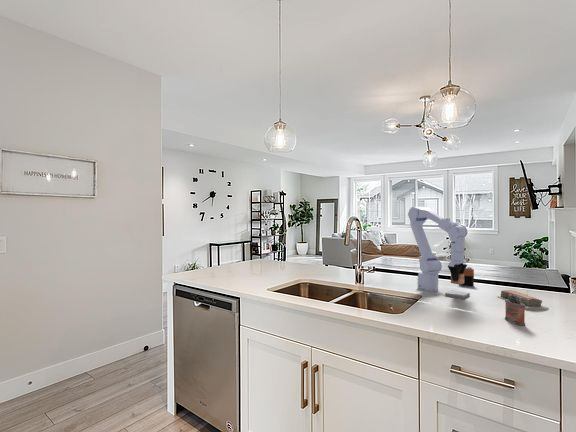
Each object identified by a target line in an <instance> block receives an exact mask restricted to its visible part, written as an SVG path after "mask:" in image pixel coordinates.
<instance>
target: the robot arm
mask: <svg viewBox="0 0 576 432" xmlns="http://www.w3.org/2000/svg"><path fill="white" fill-rule="evenodd" d="M407 217H408V218H409V221H410V228H411V231H412V235H413V236H414V240H415V242H416V245H417V247H418V251H419V253H420V257H419V259H418V262H419V270H420V272H418V273H417V289H421V290H425V291H431V292H432V291H438V290H439V273H440V271H441V270H442V268H443V264H442V262H441V261H440V260H439V258H438V256H437V255H436V254H434V253H433V251H432V249H431V247H430V243H429V240H428V238H427V236H426V233H425V230H424V227H423V225H424V224H425V222H427V220H428V219H429V220H430V221H432V222H434V223H436V224H437V226H438V227H439V229H441V230H443V231H444V232H446V233H447V234H448V236H449V241H450V259H449V262H448V265H447V268H448V271H449V272H450V277H451V276H452V280H453V281H458V279H459V273H461V274H464V271H465V269H466V268H467V267H468V264H467V263H468V261H467V260H466V259H465V243H466V242H465V237H467V235H468V229H467V227H466V226H465V225H461V224H460V225H459V224H458V223H457V222H454V221H452V220H451V218H450V217H441V216H440V215H439V214H437V213H436V212H434V211H433V210H432V209H431V208H429V207H427V206H411V207H410V208H409V210H408V213H407Z"/></svg>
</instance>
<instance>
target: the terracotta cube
mask: <svg viewBox="0 0 576 432" xmlns="http://www.w3.org/2000/svg"><path fill="white" fill-rule="evenodd" d="M450 284H454V285H458V286H462V285H461V284H464V274H461V273H459V279H458V281H453V280H452V276H451V275H450Z"/></svg>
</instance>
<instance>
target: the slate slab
mask: <svg viewBox="0 0 576 432" xmlns="http://www.w3.org/2000/svg"><path fill="white" fill-rule="evenodd" d="M444 295H445V296H448V297H447V298H450V297H454V298H453V299H456V298H459V299H458V300H461V299H465V298H467V297H469V298H470V295H471V294H470V292H467V291H459V290H454V289H451V290H449V291H446V292H444ZM445 296H444V297H445Z"/></svg>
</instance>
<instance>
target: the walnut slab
mask: <svg viewBox="0 0 576 432" xmlns="http://www.w3.org/2000/svg"><path fill="white" fill-rule="evenodd" d="M442 297H445V298H450V299H456V300H461V301H462V300H463V301H465V300H468V299H470V296H469V297H467V298H465V299H459V298H454V297H448V296H445V294H443V295H442Z"/></svg>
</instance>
